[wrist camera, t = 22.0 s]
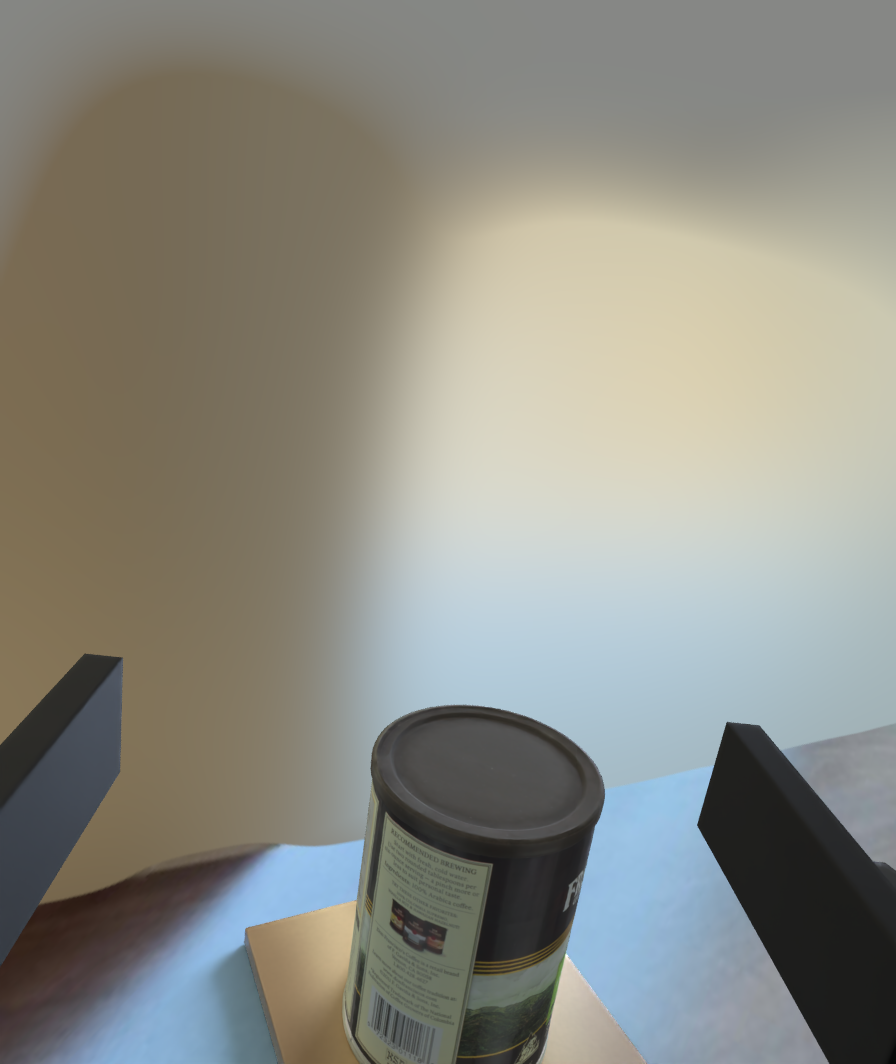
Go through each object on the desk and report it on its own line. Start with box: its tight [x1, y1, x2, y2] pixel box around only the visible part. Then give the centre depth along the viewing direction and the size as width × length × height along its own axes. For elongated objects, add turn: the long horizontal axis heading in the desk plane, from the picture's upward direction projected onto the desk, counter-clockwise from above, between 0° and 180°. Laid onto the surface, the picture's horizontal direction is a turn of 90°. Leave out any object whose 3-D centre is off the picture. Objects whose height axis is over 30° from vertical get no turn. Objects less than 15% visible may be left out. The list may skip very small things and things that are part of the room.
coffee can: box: [342, 705, 605, 1064], centre depth 35 cm, size 10×10×14 cm
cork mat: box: [244, 900, 647, 1064], centre depth 37 cm, size 16×16×1 cm
